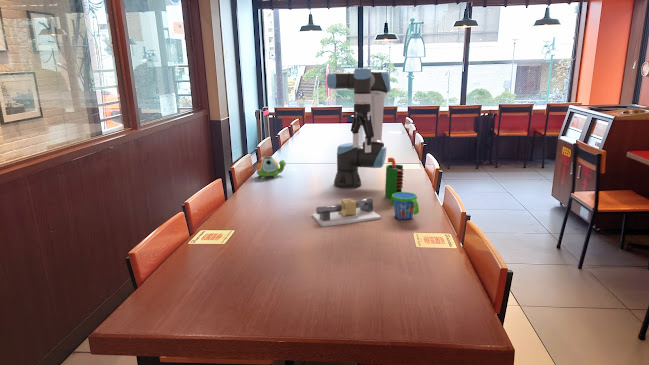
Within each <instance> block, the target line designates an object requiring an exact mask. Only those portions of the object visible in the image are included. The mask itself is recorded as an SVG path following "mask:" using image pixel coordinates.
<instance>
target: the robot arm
mask: <svg viewBox="0 0 649 365" xmlns="http://www.w3.org/2000/svg"><path fill="white" fill-rule="evenodd" d="M390 79H391V78H390V74H389V72H388V70H382V69H377V70H375V69H373V70H372V69H371V68H370V67H356V68H354V70H353V71H350V72H348V71H347V72H341V71H340V72H335V71H334V72H328V73H327V76H326V87H327V88H328V89H331V90H332V89H334V90H341V89H344V90H346V89H347V90H349V91H353V103H354V104H353V117H352V121H351V122H352V123H351V126H350V132H352V142H347V143H342V144H340V145H338V146H337V148H336V149H337V150H336V174H335V177H334V180H333V185H334V187H336V188H343V189H354V188H355V189H356V188H358V187H361V185H362V180H361V177H360V174H359V168H371V169H372V168H373V169H380V168H383V166H384V164H385V161H386V157H387V147H386V146H385V142H383V141H382V139H383V138H382V136H383V122H384V121H383V120H384V107H385V106H384V105H385V98H386V97H387V96H388V93H390V92H391V81H390ZM361 126H362V128H363V132H364V135H365V137H364V141H363V142H362V145H360V144H359V140H360V139H359V138H360V128H361Z"/></svg>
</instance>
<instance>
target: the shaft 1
mask: <svg viewBox="0 0 649 365" xmlns="http://www.w3.org/2000/svg"><path fill="white" fill-rule="evenodd" d="M341 211H342V207H341V204H335V205H326V206H318V207H316V210H315V212H316V213H317V214H320V218H321V219H322V220H323V221H328V220H330V213H333V212H341Z"/></svg>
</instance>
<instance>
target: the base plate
mask: <svg viewBox="0 0 649 365" xmlns="http://www.w3.org/2000/svg"><path fill="white" fill-rule="evenodd" d="M311 217H312V218H313V219H314V220H315V221H316V222H317V223H318V224H319V225H320V226H321V227H322V228H323V227H329V226H337V225H344V224H345V225H346V224H353V223H360V222H365V221H367V222H368V221H372V220H374V221H375V220H380V219H382V216H381V215H380V214H378V213H376V212H375V211H374V210H373V211H371V212H366V211H363V210H360V207H359V208H356V215H354V216H347V217H343V216H342V215H341V212H333V213H330V220H328V221H323V220H322V219H321V218H320V214H317V212H316V213H311Z"/></svg>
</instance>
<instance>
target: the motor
mask: <svg viewBox="0 0 649 365" xmlns="http://www.w3.org/2000/svg"><path fill="white" fill-rule="evenodd" d="M387 163H391V164H388V165H386V167H385V169H386V170H385V185H384V186H385V187H384V188H385V190H384V197H385V199H388V200H391V197H392V194H394V193H397V192H403V191H402V190H403V184H404V183H403V181H404V176H403V175H404V165H403V164H397V163H396V160H395V158H394V157H388V158H387Z"/></svg>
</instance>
